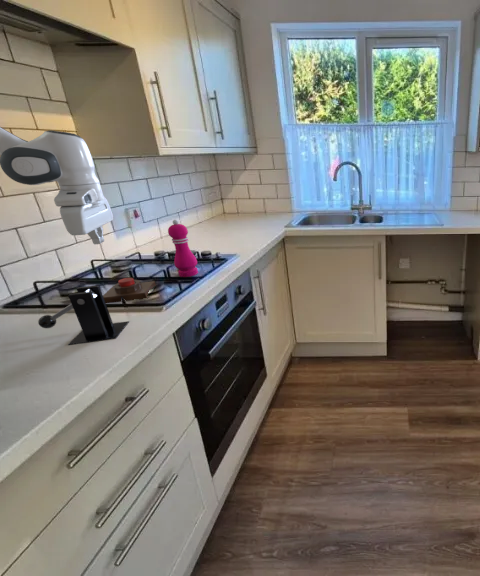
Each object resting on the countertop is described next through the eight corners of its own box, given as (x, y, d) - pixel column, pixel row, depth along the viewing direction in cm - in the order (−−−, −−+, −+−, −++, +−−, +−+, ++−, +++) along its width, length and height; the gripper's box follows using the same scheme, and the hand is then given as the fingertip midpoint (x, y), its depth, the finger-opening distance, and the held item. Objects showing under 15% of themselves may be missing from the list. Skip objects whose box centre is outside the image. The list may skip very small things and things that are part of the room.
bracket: (69, 348, 86) (48, 300, 81) (87, 330, 94) (69, 285, 89) (117, 342, 88) (99, 294, 83) (130, 325, 96) (115, 280, 91)
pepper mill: (191, 278, 128) (177, 222, 120) (173, 277, 129) (157, 222, 121) (203, 271, 134) (191, 217, 126) (186, 270, 135) (172, 217, 127)
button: (117, 288, 111) (115, 283, 110) (122, 283, 115) (120, 278, 114) (132, 286, 112) (130, 281, 111) (136, 281, 116) (135, 276, 115)
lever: (43, 333, 86) (31, 323, 85) (51, 326, 89) (39, 317, 87) (94, 301, 86) (82, 291, 85) (100, 295, 89) (88, 286, 88)
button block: (102, 304, 109) (98, 292, 107) (115, 291, 118) (111, 280, 116) (146, 299, 112) (143, 287, 110) (156, 287, 121) (153, 276, 119)
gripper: (87, 190, 108) (101, 235, 114) (49, 200, 90) (69, 253, 95) (111, 189, 110) (124, 233, 115) (79, 199, 92) (96, 251, 97)
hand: (99, 243), depth 105 cm, fingers closed
